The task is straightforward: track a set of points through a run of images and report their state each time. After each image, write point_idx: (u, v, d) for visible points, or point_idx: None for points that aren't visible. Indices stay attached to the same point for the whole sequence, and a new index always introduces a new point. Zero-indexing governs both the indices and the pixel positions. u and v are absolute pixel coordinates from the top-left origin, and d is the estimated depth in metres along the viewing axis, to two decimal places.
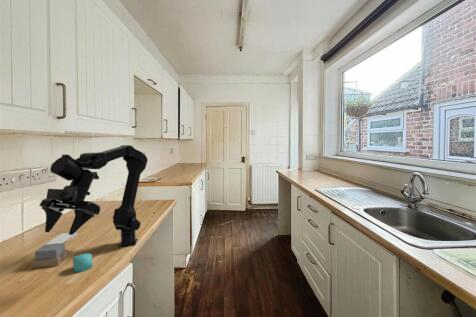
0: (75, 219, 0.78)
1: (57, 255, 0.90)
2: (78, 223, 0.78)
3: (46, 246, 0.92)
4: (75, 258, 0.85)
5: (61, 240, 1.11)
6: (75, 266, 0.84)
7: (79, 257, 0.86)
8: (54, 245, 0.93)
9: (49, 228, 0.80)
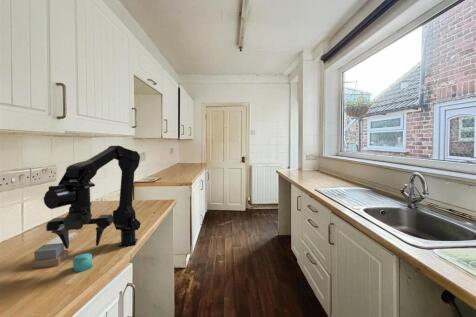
0: (98, 234, 0.86)
1: (57, 255, 0.90)
2: (100, 235, 0.88)
3: (45, 246, 0.91)
4: (75, 258, 0.85)
5: (61, 240, 1.11)
6: (75, 266, 0.84)
7: (79, 257, 0.86)
8: (53, 245, 0.93)
9: (68, 244, 0.85)
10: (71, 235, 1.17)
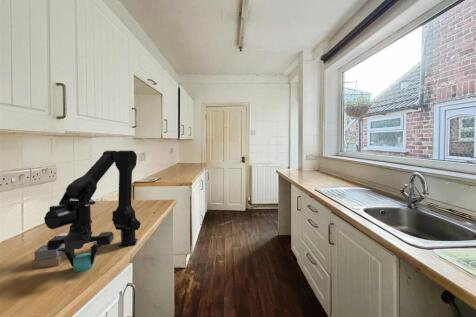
0: (93, 252, 0.86)
1: (57, 255, 0.90)
2: (95, 253, 0.87)
3: (45, 246, 0.91)
4: (75, 258, 0.85)
5: None
6: (75, 266, 0.84)
7: (79, 257, 0.86)
8: None
9: None
10: None
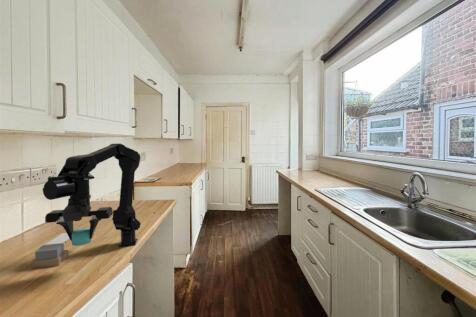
0: (92, 227, 0.85)
1: (58, 255, 0.90)
2: (94, 228, 0.87)
3: (45, 247, 0.91)
4: (74, 232, 0.85)
5: (61, 240, 1.11)
6: (74, 239, 0.83)
7: (78, 231, 0.85)
8: (53, 245, 0.93)
9: None
10: None
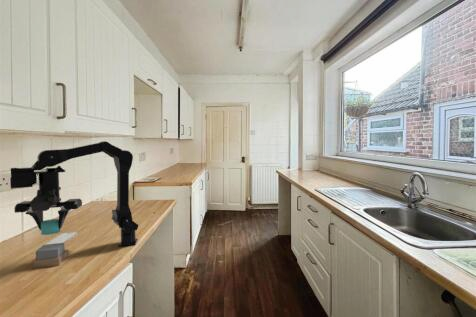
0: (60, 217, 0.90)
1: (58, 254, 0.90)
2: (63, 218, 0.91)
3: (46, 246, 0.91)
4: (43, 222, 0.89)
5: (61, 240, 1.12)
6: (42, 229, 0.88)
7: (47, 221, 0.90)
8: (53, 244, 0.93)
9: None
10: (71, 235, 1.17)
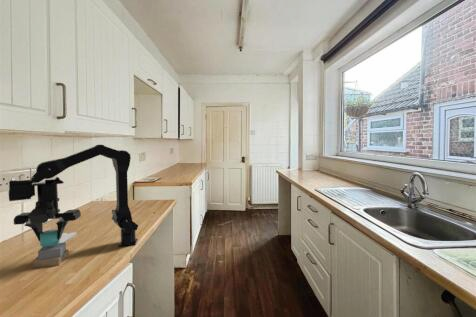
0: (59, 228, 0.90)
1: (61, 254, 0.90)
2: (62, 229, 0.92)
3: (48, 246, 0.92)
4: (42, 233, 0.90)
5: (61, 240, 1.12)
6: (41, 240, 0.88)
7: (46, 232, 0.90)
8: (55, 244, 0.93)
9: None
10: (71, 235, 1.17)
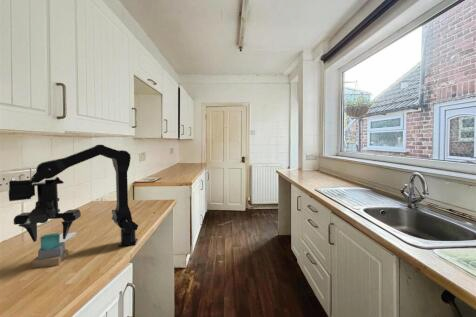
0: (64, 228, 0.91)
1: (61, 253, 0.91)
2: (67, 229, 0.92)
3: None
4: (43, 237, 0.90)
5: (61, 240, 1.12)
6: (42, 244, 0.89)
7: (47, 236, 0.91)
8: None
9: (35, 237, 0.90)
10: (71, 235, 1.17)
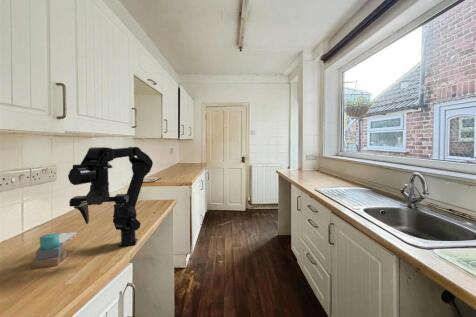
0: (115, 211, 0.94)
1: (59, 254, 0.91)
2: (117, 212, 0.96)
3: None
4: (42, 237, 0.90)
5: (61, 240, 1.12)
6: (42, 244, 0.88)
7: (46, 236, 0.90)
8: None
9: (88, 220, 0.94)
10: (71, 235, 1.17)
